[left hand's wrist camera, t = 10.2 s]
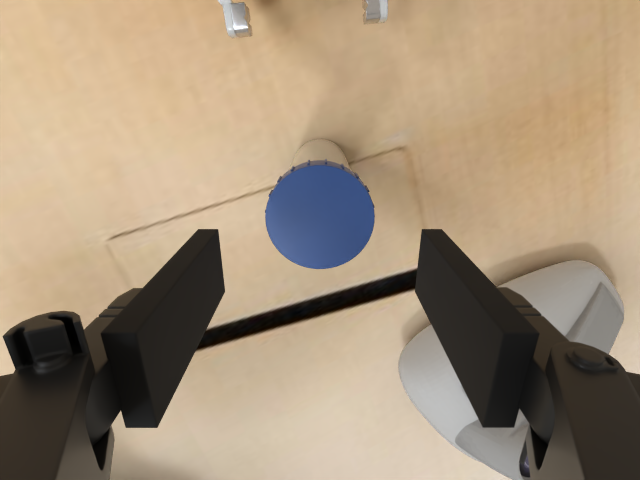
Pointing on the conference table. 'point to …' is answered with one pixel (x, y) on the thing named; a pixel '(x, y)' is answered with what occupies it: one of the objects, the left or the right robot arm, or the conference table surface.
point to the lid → (319, 214)
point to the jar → (320, 153)
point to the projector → (506, 443)
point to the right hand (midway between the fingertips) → (307, 29)
